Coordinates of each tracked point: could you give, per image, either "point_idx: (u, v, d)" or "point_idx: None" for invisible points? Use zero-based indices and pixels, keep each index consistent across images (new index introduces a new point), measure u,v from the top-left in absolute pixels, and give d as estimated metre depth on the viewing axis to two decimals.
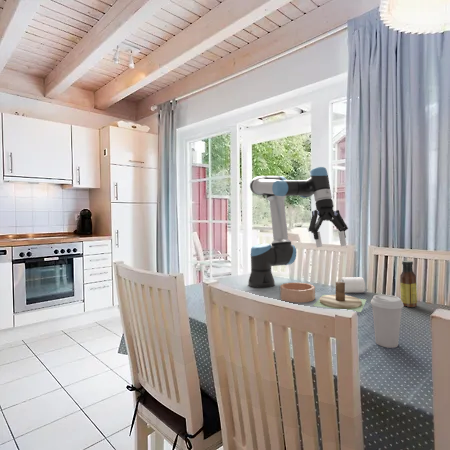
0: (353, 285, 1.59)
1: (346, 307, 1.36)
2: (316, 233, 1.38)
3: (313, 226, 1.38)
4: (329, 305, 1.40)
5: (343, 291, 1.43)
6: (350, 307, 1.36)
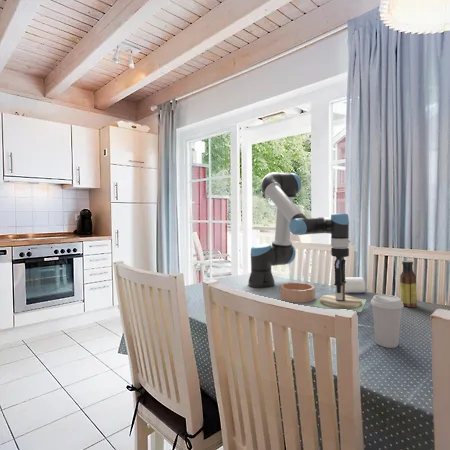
0: (353, 285, 1.59)
1: (346, 307, 1.36)
2: (340, 287, 1.42)
3: (340, 281, 1.40)
4: (329, 305, 1.40)
5: (343, 291, 1.43)
6: (350, 307, 1.36)
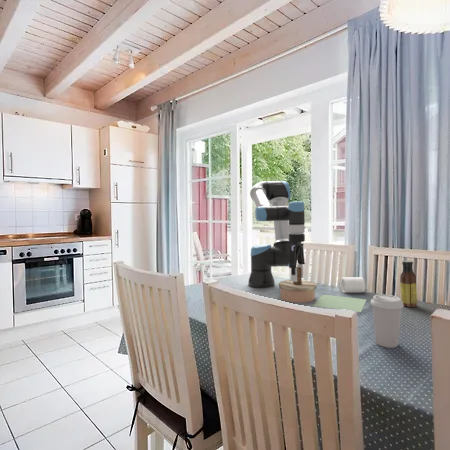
0: (353, 285, 1.59)
1: (300, 289, 1.46)
2: (294, 269, 1.49)
3: (294, 263, 1.47)
4: (285, 288, 1.49)
5: (299, 275, 1.53)
6: (304, 289, 1.46)
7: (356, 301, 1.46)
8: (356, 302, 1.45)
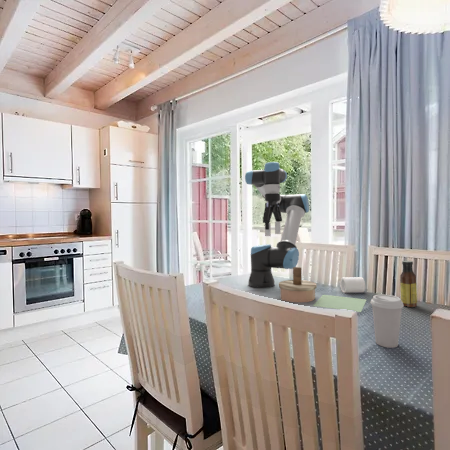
0: (353, 285, 1.59)
1: (300, 289, 1.46)
2: (268, 224, 1.55)
3: (268, 218, 1.53)
4: (285, 288, 1.49)
5: (299, 275, 1.53)
6: (304, 289, 1.46)
7: (356, 301, 1.46)
8: (356, 302, 1.45)
